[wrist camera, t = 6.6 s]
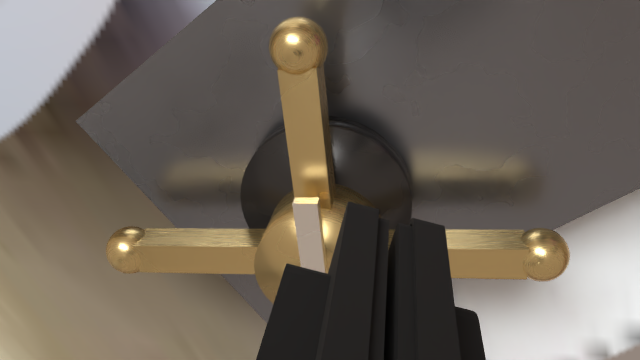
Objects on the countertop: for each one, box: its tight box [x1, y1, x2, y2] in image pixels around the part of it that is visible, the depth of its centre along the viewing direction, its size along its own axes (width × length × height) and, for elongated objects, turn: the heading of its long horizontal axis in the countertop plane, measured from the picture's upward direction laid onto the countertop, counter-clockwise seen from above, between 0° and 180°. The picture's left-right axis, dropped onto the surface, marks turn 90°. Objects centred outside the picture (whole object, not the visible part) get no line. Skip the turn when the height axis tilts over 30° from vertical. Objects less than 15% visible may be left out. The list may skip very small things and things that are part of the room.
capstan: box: [106, 16, 570, 304], centre depth 22 cm, size 17×17×4 cm
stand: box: [76, 0, 640, 323], centre depth 17 cm, size 22×14×15 cm, turn 128°
